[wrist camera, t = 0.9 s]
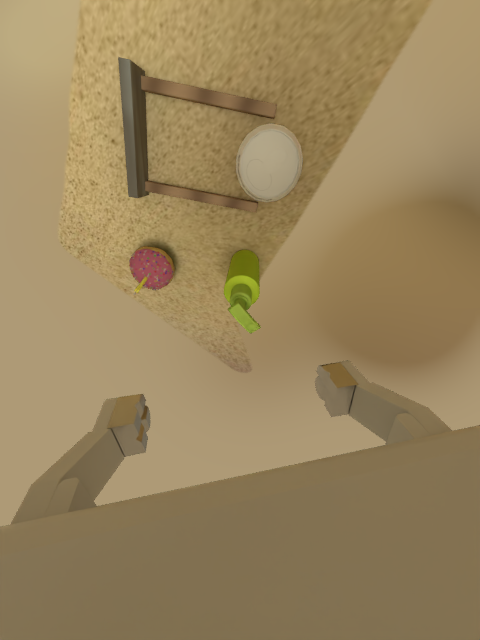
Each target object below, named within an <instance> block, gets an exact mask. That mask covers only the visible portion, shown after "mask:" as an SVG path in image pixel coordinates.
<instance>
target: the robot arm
mask: <svg viewBox="0 0 480 640" xmlns="http://www.w3.org/2000/svg"><path fill="white" fill-rule="evenodd" d="M317 373H318V375H319V376H318V377H317V378H316V381H315V386H316V391H317V393H318V395H319V397H320V398H321V399H322V400H324V401H325V407H326V409H327V410H328V412H329V414H330V415H331V417H333V416H340V415H346V414H349V416H351V417H352V418H354V419H355V420H357V421H358V422H359V423H361V424H362V425H364V426H365V427H366V428H368V429H369V430H371V431H372V432H373V433H375V434H376V435H378V436H379V437H380V438H382V439H383V440H385V441H386V445H383V446H379V447H374V448H369V449H365V450H360V451H355V452H350V453H346V454H341V455H336V456H332V457H327V458H322V459H318V460H313V461H308V462H303V463H299V464H295V465H289V466H285V467H280V468H275V469H271V470H266V471H261V472H256V473H252V474H247V475H243V476H238V477H233V478H228V479H224V480H219V481H214V482H209V483H204V484H200V485H195V486H190V487H185V488H181V489H176V490H171V491H167V492H162V493H157V494H152V495H148V496H143V497H138V498H134V499H129V500H125V501H120V502H115V503H110V504H105V505H101V506H96V504H95V503H94V500H95V498H96V497H97V496H98V494H99V493H100V491H101V490H102V489H103V487H104V486H105V484H106V483H107V482H108V480H109V479H110V478H111V476H112V475H113V473H114V472H115V471H116V469H117V468H118V466H119V465H120V463H121V462H122V461H123V460H124V457H126V456H131V455H135V454H140V453H144V452H145V451H146V446H147V440H148V437H147V434H146V432H147V431H148V430H149V428H150V412H149V408H148V407H147V406H145V401H146V399H145V397H144V395H143V394H138V395H131V396H124V397H119V398H111V399H106V400H105V402H104V403H103V406H102V409H101V411H100V413H99V416H98V418H97V421H96V424H95V426H94V428H93V431H92V432H88V433H87V434H86V435H85V436H84V437H83V438H82V439H81V440H80V441H78V442H77V444H75V445H74V446H73V447H72V448H71V449H70V450H69V451H68V452H67V453H66V454H64V455H63V456H62V457H61V458H60V459H59V460H58V461H57V462H56V463H55V464H54V465H53V466H51V467H50V468H49V469H48V470H47V471H46V472H45V473H44V474H43V475H42V476H41V477H40V478H39V479H37V480H36V481H35V482H34V483H33V484H32V485H31V487H30V489H29V490H28V492H27V494H26V496H25V498H24V500H23V502H22V504H21V506H20V507H19V509H18V511H17V513H16V515H15V517H14V519H13V521H12V522H11V524H10V525H6V526H2V527H0V640H480V425H478V426H474V427H468V428H464V429H459V430H454V431H452V430H451V429H450V428H449V427H448V426H447V425H446V424H445V423H444V422H443V421H442V420H441V419H440V418H439V417H437V416H436V415H435V414H434V413H433V412H432V411H431V410H430V409H429V408H428V407H426V406H423V405H421V404H419V403H417V402H415V401H412V400H410V399H408V398H406V397H404V396H401V395H399V394H397V393H395V392H393V391H391V390H388V389H386V388H384V387H382V386H380V385H377V384H375V383H370V382H369V381H368V380H367V379H366V378H365V377H364V376H363V375H362V374H361V372H359V370H358V369H357V368H356V367H355V366H354V365H353V364H352V363H351V362H350V361H348V360H347V361H342V362H336V363H330V364H325V365H319V366H318V368H317Z"/></svg>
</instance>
